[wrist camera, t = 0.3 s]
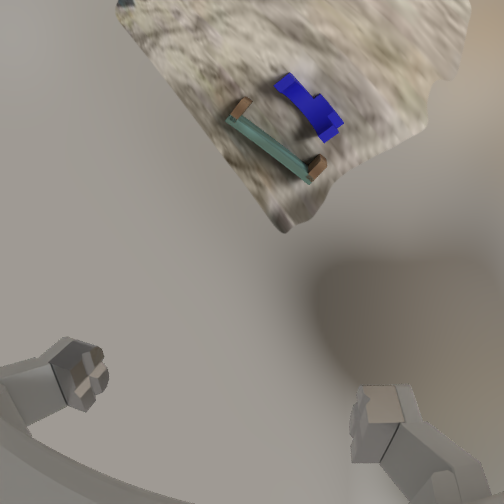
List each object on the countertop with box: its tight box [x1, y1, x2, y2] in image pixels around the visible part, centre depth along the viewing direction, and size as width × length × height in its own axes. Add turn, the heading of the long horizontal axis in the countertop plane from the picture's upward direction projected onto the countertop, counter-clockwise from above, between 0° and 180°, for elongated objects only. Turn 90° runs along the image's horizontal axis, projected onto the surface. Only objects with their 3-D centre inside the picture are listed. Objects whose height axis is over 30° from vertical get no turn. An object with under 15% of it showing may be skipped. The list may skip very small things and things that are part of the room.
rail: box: [225, 97, 327, 185], centre depth 51 cm, size 5×18×4 cm, turn 53°
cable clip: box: [274, 73, 344, 143], centre depth 46 cm, size 12×4×6 cm, turn 43°
